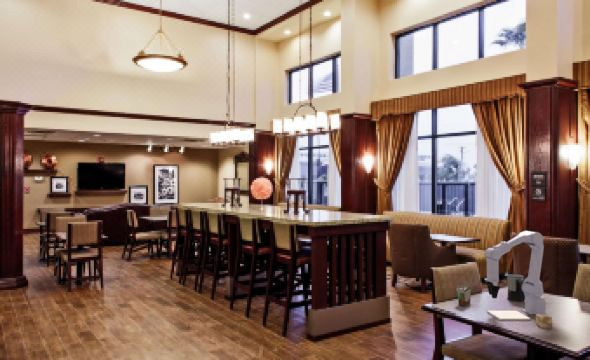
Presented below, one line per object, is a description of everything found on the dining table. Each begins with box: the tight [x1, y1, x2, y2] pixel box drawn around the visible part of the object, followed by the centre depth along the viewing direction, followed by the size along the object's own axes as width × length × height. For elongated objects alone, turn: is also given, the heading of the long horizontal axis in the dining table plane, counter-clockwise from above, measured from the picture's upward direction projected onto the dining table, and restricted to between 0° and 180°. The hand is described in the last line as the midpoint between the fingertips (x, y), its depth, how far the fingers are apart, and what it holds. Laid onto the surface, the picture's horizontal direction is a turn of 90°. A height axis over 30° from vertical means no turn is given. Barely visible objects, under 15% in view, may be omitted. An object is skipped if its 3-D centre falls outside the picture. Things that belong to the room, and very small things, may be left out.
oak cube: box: [535, 313, 553, 328], centre depth 212 cm, size 5×5×5 cm
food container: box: [456, 285, 472, 308], centre depth 250 cm, size 12×6×10 cm, turn 141°
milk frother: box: [506, 273, 525, 303], centre depth 258 cm, size 14×16×15 cm
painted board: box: [486, 310, 532, 322], centre depth 227 cm, size 16×14×1 cm
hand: (492, 296), depth 230 cm, fingers open, 7 cm apart
